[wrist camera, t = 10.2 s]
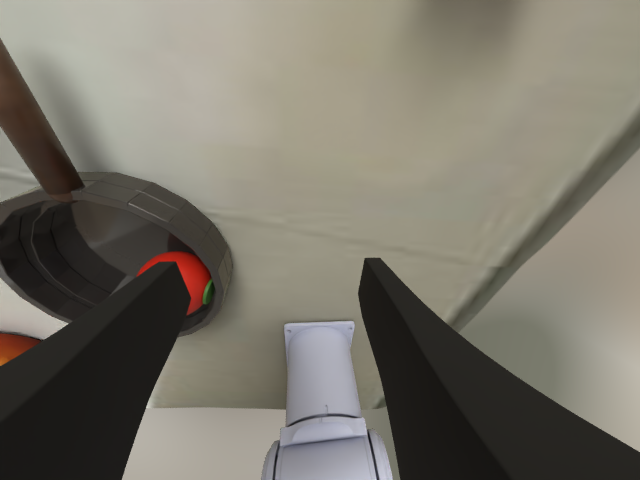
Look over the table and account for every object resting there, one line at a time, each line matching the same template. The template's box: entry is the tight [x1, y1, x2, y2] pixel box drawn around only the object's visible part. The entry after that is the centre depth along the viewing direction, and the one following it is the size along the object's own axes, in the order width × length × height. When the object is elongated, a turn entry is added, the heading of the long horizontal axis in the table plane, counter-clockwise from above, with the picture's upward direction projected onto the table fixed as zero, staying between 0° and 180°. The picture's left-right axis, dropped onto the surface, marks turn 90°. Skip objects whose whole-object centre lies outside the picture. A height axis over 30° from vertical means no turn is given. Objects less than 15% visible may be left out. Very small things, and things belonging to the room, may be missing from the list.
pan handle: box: [0, 38, 84, 203], centre depth 11 cm, size 10×2×2 cm, turn 178°
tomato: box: [136, 251, 215, 315], centre depth 18 cm, size 5×5×5 cm
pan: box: [0, 172, 233, 337], centre depth 18 cm, size 14×14×4 cm
